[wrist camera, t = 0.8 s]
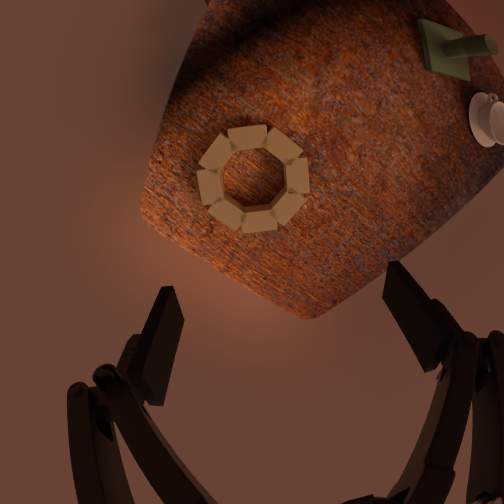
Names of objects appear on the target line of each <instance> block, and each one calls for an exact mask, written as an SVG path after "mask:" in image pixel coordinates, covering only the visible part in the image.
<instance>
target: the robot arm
mask: <svg viewBox="0 0 504 504" xmlns="http://www.w3.org/2000/svg"><path fill="white" fill-rule="evenodd" d="M382 298H383V300H384V301H385V303H386V305H387V306H388V308H389V310H390V311H391V313H392V315H393V316H394V318H395V320H396V322H397V323H398V325H399V327H400V328H401V330H402V332H403V334H404V335H405V337H406V339H407V341H408V342H409V344H410V346H411V348H412V350H413V352H414V353H415V355H416V357H417V359H418V361H419V363H420V365H421V367H422V369H423V370H424V372H425V373H426V372H429V371H432V370H435V369H436V368H437V366H438V364H439V363H440V362H441V364H442V366H443V367H442V369H441V371H440V372H439V374H438V376H437V378H436V379H438V378H439V379H438V383H437V386H436V390H435V393H434V397H433V400H432V403H431V406H430V409H429V412H428V415H427V418H426V420H425V423H424V426H423V428H422V431H421V434H420V436H419V439H418V441H417V444H416V446H415V448H414V450H413V453H412V455H411V457H410V459H409V461H408V463H407V465H406V468H405V470H404V471H403V474H402V475H401V477H400V479H399V480H398V482H397V483H396V484H395V486H394V487H393V488H392V490H391V491H390V493H389V494H388V496H387V498H384V497H374V496H373V494H371V495H368V496H364V497H361V498H357V499H353V500H349V501H347V502H344V503H342V504H444V502H445V500H446V498H447V495H448V493H449V491H450V489H451V486H452V484H453V481H454V478H455V471H454V470H453V467H454V463H455V461H456V457H457V455H458V451H459V449H460V445H461V442H462V438H463V435H464V431H465V427H466V423H467V419H468V415H469V410H470V405H471V401H472V407H473V409H472V410H473V429H472V430H473V431H472V451H471V462H470V471H469V479H468V485H467V494H466V504H504V334H503V333H501V332H500V331H497V330H494V331H491V332H490V334H489V336H488V338H477V337H476V336H475V335H474V334H473V333H471V332H467V331H465V332H464V331H463V330H462V328H461V327H460V326H459V324H458V323H457V322H456V320H455V319H454V318H453V316H451V314H450V313H449V311H447V309H446V307H445V306H444V305H443V303H441V302H440V301H438V300H437V299H432V300H431V299H430V298H429V297H428V295H427V294H426V293H425V292H424V290H423V289H422V288H421V287H420V285H419V284H418V283H417V282H416V281H415V279H414V278H413V277H412V276H411V275H410V273H409V272H408V271H407V270H406V269H405V268H404V266H402V264H401V263H400V262H399V261H392V262H388V266H387V273H386V279H385V285H384V290H383V296H382ZM183 324H184V318H183V314H182V311H181V308H180V306H179V303H178V300H177V297H176V294H175V290H174V287H173V286H164V287H161V289H160V291H159V293H158V296H157V298H156V300H155V302H154V305H153V307H152V309H151V312H150V314H149V316H148V319H147V321H146V323H145V326H144V328H143V331H142V333H141V334H133V336H131V338H130V339H129V340H128V341H127V343H126V346H125V349H124V350H123V352H122V355H121V358H120V360H119V362H118V364H117V367H115V366H114V365H111V364H104V365H102V366H100V367H98V368H97V369H96V370H95V371H94V374H93V381H94V382H95V383H96V385H97V386H95V387H88V386H87V385H86V384H85V383H83V382H76V383H74V384H73V385H71V386H70V388H69V389H68V392H67V419H68V435H69V448H70V457H71V465H72V472H73V478H74V484H75V489H76V494H77V499H78V503H79V504H135V503H134V500H133V497H132V494H131V491H130V488H129V484H128V481H127V478H126V474H125V471H124V467H123V463H122V459H121V455H120V451H119V447H118V442H117V437H116V433H115V427H114V422H115V423H116V425H117V427H118V429H119V431H120V433H121V435H122V437H123V438H124V440H125V442H126V444H127V446H128V448H129V450H130V451H131V453H132V455H133V457H134V458H135V460H136V462H137V463H138V465H139V467H140V468H141V470H142V471H143V473H144V475H145V476H146V478H147V480H148V481H149V483H150V484H151V486H152V487H153V488H154V490H155V491H156V493H157V494H158V496H159V497H160V498H161V500H162V501H163V503H164V504H218V503H217V502H216V501H215V500H214V498H213V497H212V496H211V495H210V494H209V493H208V492H207V491H206V490H205V488H204V487H203V486H202V485H201V484H200V483H199V482H198V480H196V478H195V477H194V476H193V475H192V473H191V472H190V471H189V470H188V468H187V467H186V466H185V465H184V463H183V462H182V461H181V460H180V458H179V457H178V455H177V454H176V453H175V451H174V450H173V449H172V447H171V446H170V445H169V443H168V442H167V440H166V439H165V438H164V436H163V435H162V434H161V432H160V430H159V429H158V427H157V426H156V424H155V423H154V421H153V420H152V418H151V416H150V415H149V414H148V412H147V410H146V408H145V407H144V406H143V405H144V401H145V400H146V401H147V403H148V404H149V405H153V406H163V405H164V400H165V396H166V392H167V387H168V383H169V379H170V375H171V370H172V366H173V363H174V359H175V355H176V351H177V347H178V342H179V339H180V335H181V331H182V328H183Z"/></svg>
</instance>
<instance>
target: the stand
mask: <svg viewBox="0 0 504 504" xmlns="http://www.w3.org/2000/svg"><path fill="white" fill-rule="evenodd" d="M417 23H418V27H419V32H420V36H421V41H422V46H423V52H424V57H425V64H426V70H427V71H429V72H434V73H438V74H442V75H445V76H449V77H452V78H456V79H459V80H462V81H471V79H470V71H469V65H468V59H467V57H471V56H483V55H497V53H498V47H497V44H496V42H495V40H494V39H493V37H492V36H490V35H489V34H481V35H475V36H469V37H463V35H462V33H460V32H458V31H456V30H453V29H451V28H448V27H446V26H443V25H440V24H437V23H435V22H432V21H429V20H426V19H422V18H421V19H419V20H417Z"/></svg>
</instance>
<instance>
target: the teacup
mask: <svg viewBox="0 0 504 504" xmlns="http://www.w3.org/2000/svg"><path fill="white" fill-rule="evenodd" d="M493 95H494V100H492V98H491V97H492V96H493ZM469 120H470V126H471V129H472V132H473V134H474V136H475V138H476V140H477V141H478V142H479V143H480V144H481V145H482V146H485V147H491V146H493V145H494V144H495V143H496V142H497V143H499V144H502V145H504V104H503V103H502V102H500V101H498V97H497V95H496V94H494V93H489V94H488V95H487V94H486V93H483V92H479V93H476V94H475V95H474V96H473V98H472V100H471V102H470V107H469Z"/></svg>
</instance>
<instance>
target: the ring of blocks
mask: <svg viewBox="0 0 504 504" xmlns="http://www.w3.org/2000/svg"><path fill="white" fill-rule="evenodd" d="M227 132H228V136H227V135H226V134H224V133H223V132H222V133H220V134H219V135H218V136H217V138H216V139H215V140H214V142H213V143H212V144H211V146H210V147H209V148H208V150H207V151H206V152H205V154H204V155H203V156H202V158H201V159H200V161H199V162H198V164H199V165H201V166H202V167H199V168H198V169H197V170H196V173H197V179H198V184H199V190H200V195H201V200H202V205H209V204H210V205H209V207H208V210H207V212H208V213H209V214H211V215H212V216H214V217H215V218H217V219H218V220H219V221H221V222H222V223H224V224H225V225H227V226H228V227H230V228H231V229H232V230H234V231H236V230H237V229H238V228H239V227H240V225H241V227H242V233H250V232H259V231H267V230H276V229H277V221H278V222H279V223H281V224H282V225H283V226H284V225H285V224H286V223H287V222H288V221H289V220H290V219H291V218H292V216H293V215H294V214H295V213H296V212H297V211H298V210H299V209H300V207H301V206H302V205H303V204H304V203H305V202H306V201H307V199H306V198H305V196H304V195H303V193H310V190H309V174H308V160H307V157H306V156H304V155H300V154H301V153H302V152H303V149H302V148H300V147H299V146H298V145H297V144H296V143H294V142H293V141H292V140H291V139H289V138H288V137H287V136H286V135H284V134H283V133H282V132H281V131H279V130H278V129H277V128H276V127H274V126H272V127H271V128H270V129H269V130H268V132H267V126H266V124H259V125H250V126H242V127H234V128H229V129H227ZM262 147H264V148H265V149H266V150H268V151H269V152H270V153H272V154H273V155H274V156H275V157H277V158H278V159H279V160H280V161H282V162H283V170H284V181H285V186H284V187H283V188H282V189H281V191H280V192H279V193H278V194H277V195H276V196H275V198H274V199H273V200H272V201H271V202H270V203H269V204H263V205H255V206H246V207H244V206H243V205H242V204H240V203H239V202H238V201H236V200H235V199H233V198H232V197H231V196H229V195H228V194H226V193H225V190H224V183H223V177H222V171H221V169H222V168H223V166H224V165H225V164H226V162H227V161H228V160H229V159H230V157H231V156H232V155H233V153H234V152H235V151H237V150H245V149H253V148H262Z"/></svg>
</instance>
